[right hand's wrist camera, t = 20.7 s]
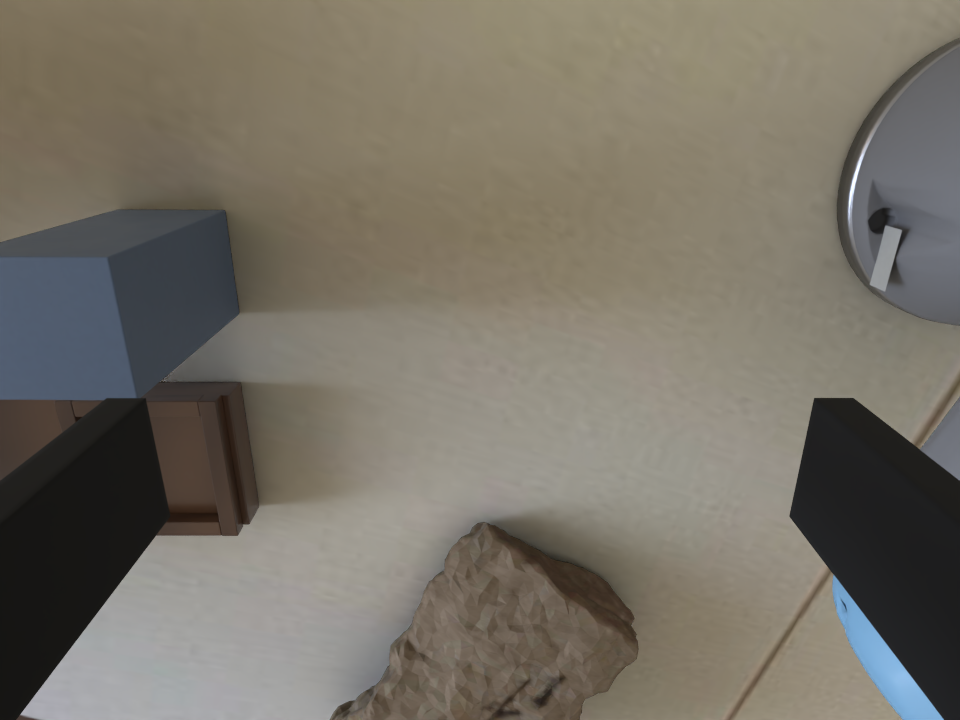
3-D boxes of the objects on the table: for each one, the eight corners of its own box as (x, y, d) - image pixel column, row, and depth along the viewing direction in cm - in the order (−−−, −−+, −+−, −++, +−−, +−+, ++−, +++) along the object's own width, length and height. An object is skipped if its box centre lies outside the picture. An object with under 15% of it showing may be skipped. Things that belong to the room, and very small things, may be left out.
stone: (494, 819, 49) (487, 893, 43) (332, 708, 49) (302, 767, 43) (655, 605, 45) (672, 653, 40) (481, 489, 46) (471, 519, 40)
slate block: (225, 209, 35) (107, 257, 24) (239, 313, 38) (138, 400, 26) (116, 209, 35) (-52, 256, 24) (137, 313, 38) (-8, 400, 26)
